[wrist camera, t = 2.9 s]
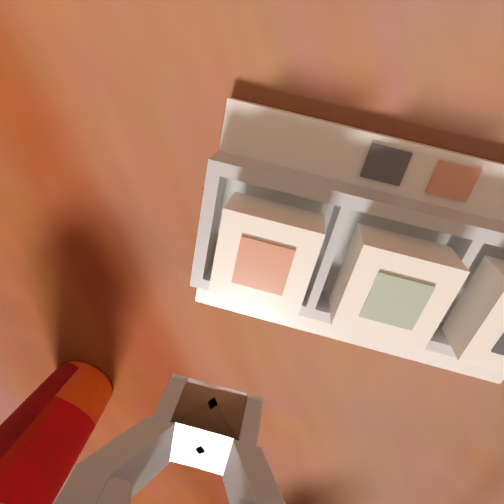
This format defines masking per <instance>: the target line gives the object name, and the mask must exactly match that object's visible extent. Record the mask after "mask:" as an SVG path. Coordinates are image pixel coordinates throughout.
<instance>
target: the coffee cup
mask: <svg viewBox="0 0 504 504" xmlns="http://www.w3.org/2000/svg"><path fill="white" fill-rule="evenodd" d="M111 395H112V385H111V383H110V381H109V379H108V378H107V376H106V375H105V374H104V373H103V372H102V371H100V370H99V369H98V368H96V367H95V366H93V365H91V364H88V363H85V362H81V361H69V362H66V363H64V364H62V365H61V366H60V367H59V368H58V369H57V370H55V371H54V372H53V373H52V374H51V375H50V376H49V377H48V378H47V379H46V380H45V381H44V382H43V383H42V384H41V385H40V386H39V387H38V388H37V389H36V390H35V391H34V392H33V393H32V394H31V395H30V396H29V397H28V398H27V399H26V400H25V401H24V402H23V403H22V404H21V405H20V406H19V407H18V408H17V409H16V410H15V411H14V412H13V413H12V414H11V415H10V416H9V417H8V418H7V419H6V420H5V421H4V422H3V423H2V424H1V425H0V503H3V504H52V503H53V502H54V500H55V498H56V496H57V494H58V493H59V491H60V489H61V487H62V485H63V484H64V482H65V480H66V478H67V476H68V475H69V473H70V471H71V469H72V467H73V466H74V464H75V462H76V460H77V458H78V457H79V455H80V453H81V451H82V449H83V448H84V446H85V444H86V442H87V440H88V438H89V437H90V435H91V433H92V431H93V429H94V428H95V426H96V424H97V422H98V420H99V418H100V417H101V415H102V413H103V411H104V409H105V407H106V405H107V403H108V401H109V399H110V397H111Z"/></svg>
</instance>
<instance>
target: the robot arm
mask: <svg viewBox="0 0 504 504" xmlns="http://www.w3.org/2000/svg"><path fill="white" fill-rule="evenodd" d="M262 406H263V398H261V397H257V396H254V395H250V394H247V393H244V392H240V391H236V390H232V389H228V388H224V387H220V386H214V385H211V384H208V383H204V382H201V381H198V380H194V379H191V378H187V377H184V376H180V375H177V374H173V375H172V376H171V378H170V380H169V382H168V384H167V386H166V388H165V391H164V393H163V395H162V397H161V399H160V402H159V404H158V406H157V408H156V410H155V412H154V415H153V417H150V416H147V417H146V418H144V419H143V420H141V421H140V422H138V423H137V424H135V425H134V426H132V427H131V428H130V429H128V430H127V431H125V432H124V433H122V434H121V435H119V436H118V437H116V438H115V439H114V440H112V441H111V442H109V443H108V444H106V445H105V446H103V447H102V448H100V449H99V450H97V451H96V452H95V453H93V454H92V455H90V456H89V457H87V458H86V459H84V460H83V461H81V462H80V463H79V464H77V465H76V467H75V469H74V470H73V472H72V474H71V475H70V477H69V479H68V480H67V482H66V484H65V485H64V487H63V489H62V490H61V492H60V494H59V495H58V497H57V499H56V500H55V502H54V504H131V499H132V497H134V496H135V495H136V494H137V493H138V492H139V491H140V490H141V489H142V488H143V487H144V486H145V485H146V484H147V483H148V482H149V481H150V480H151V479H152V478H153V477H155V476H156V475H157V474H158V473H159V472H160V471H161V470H162V469H163V468H164V467H165V466H166V465H167V464H168V463H169V461H171V462H175V463H180V464H184V465H188V466H192V467H196V468H199V469H202V470H205V471H209V472H212V473H215V474H218V475H222V476H223V481H224V485H225V489H226V493H227V497H228V500H229V504H286V503H285V501H284V498H283V496H282V494H281V491H280V489H279V487H278V484H277V482H276V480H275V477H274V475H273V473H272V470H271V468H270V466H269V464H268V461H267V459H266V457H265V454H264V452H263V450H262V447H259V446H257V441H258V434H259V427H260V420H261V413H262ZM0 504H3V503H0Z"/></svg>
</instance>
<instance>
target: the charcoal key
mask: <svg viewBox="0 0 504 504" xmlns="http://www.w3.org/2000/svg"><path fill="white" fill-rule="evenodd" d="M442 329H443V332H444V334H445V336H446V338H447V340H448V342H449V344H450V346H451V348H452V350H453V352H454V354H455V356H456V358H457V360H458V361H461V362H465V363H469V364H473V365H476V366H480V367H484V368H487V369H491V370H495V371H498V372H502V373H504V260H501V259H497V258H493V257H489V256H484V258H483V259H482V261H481V263H480V264H479V266H478V268H477V269H476V271H475V273H474V274H473V276H472V278H471V279H470V281H469V283H468V284H467V286H466V288H465V289H464V291H463V293H462V294H461V296H460V298H459V299H458V301H457V303H456V304H455V306H454V308H453V309H452V311H451V313H450V314H449V316H448V318H447V319H446V321H445V323H444V324H443V326H442Z"/></svg>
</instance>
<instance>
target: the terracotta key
mask: <svg viewBox="0 0 504 504" xmlns="http://www.w3.org/2000/svg"><path fill="white" fill-rule="evenodd" d="M325 235H326V232H325V215H324V214H321V213H317V212H313V211H309V210H305V209H301V208H297V207H294V206H290V205H286V204H282V203H278V202H274V201H270V200H266V199H262V198H258V197H254V196H251V195H247V194H243V193H239V192H234V193H233V195H232V196H231V198H230V199H229V200H228V202H227V203H226V205H225V206H224V208H223V212H222V217H221V223H220V228H219V234H218V239H217V245H216V251H215V256H214V262H213V267H212V273H211V278H210V284H209V290H208V293H210V294H214V295H218V296H221V297H225V298H229V299H232V300H236V301H240V302H244V303H247V304H251V305H255V306H258V307H262V308H266V309H269V310H273V311H277V312H280V313H284V314H288V315H292V316H295V317H298V314H299V311H300V309H301V306H302V303H303V300H304V297H305V294H306V291H307V288H308V285H309V282H310V279H311V276H312V273H313V270H314V267H315V265H316V262H317V259H318V256H319V253H320V250H321V247H322V244H323V241H324V238H325Z"/></svg>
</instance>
